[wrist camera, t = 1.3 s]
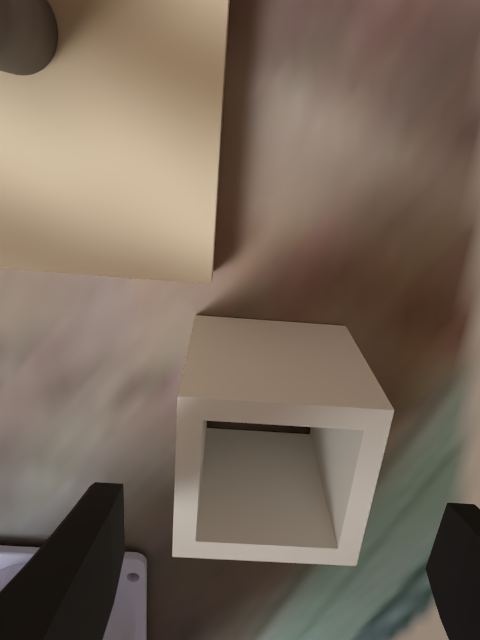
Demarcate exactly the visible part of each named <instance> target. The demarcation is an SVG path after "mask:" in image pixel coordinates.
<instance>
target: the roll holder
mask: <svg viewBox="0 0 480 640" xmlns="http://www.w3.org/2000/svg"><path fill="white" fill-rule="evenodd" d="M229 3H230V0H0V268H2V269H15V270H29V271H42V272H56V273H70V274H83V275H97V276H110V277H124V278H137V279H151V280H164V281H178V282H191V283H205V284H211V283H212V277H213V268H214V251H215V235H216V218H217V202H218V185H219V169H220V152H221V135H222V119H223V102H224V86H225V69H226V53H227V36H228V20H229Z"/></svg>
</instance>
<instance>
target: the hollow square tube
mask: <svg viewBox="0 0 480 640" xmlns="http://www.w3.org/2000/svg"><path fill="white" fill-rule="evenodd" d="M393 414H394V409H393V407H392V405H391V403H390V402H389V400H388V398H387V397H386V395H385V393H384V391H383V390H382V388H381V386H380V384H379V383H378V381H377V379H376V377H375V376H374V374H373V372H372V371H371V369H370V367H369V365H368V364H367V362H366V360H365V358H364V357H363V355H362V353H361V352H360V350H359V348H358V346H357V345H356V343H355V341H354V339H353V338H352V336H351V334H350V333H349V331H348V329H347V327H346V326H341V325H326V324H312V323H298V322H284V321H270V320H256V319H242V318H228V317H214V316H200V315H195V319H194V324H193V328H192V333H191V337H190V342H189V346H188V351H187V355H186V360H185V365H184V369H183V374H182V378H181V383H180V387H179V392H178V396H177V426H176V456H175V486H174V516H173V546H172V557H185V558H205V559H225V560H245V561H265V562H285V563H305V564H325V565H345V566H356V565H357V561H358V557H359V553H360V549H361V545H362V540H363V536H364V532H365V528H366V524H367V520H368V516H369V512H370V508H371V504H372V500H373V496H374V492H375V488H376V483H377V479H378V475H379V471H380V467H381V463H382V459H383V455H384V451H385V447H386V443H387V439H388V435H389V431H390V426H391V422H392V418H393ZM207 421H221V422H237V423H254V424H270V425H286V426H302V427H311V429H310V434H297V433H281V432H264V431H248V430H232V429H215V428H207Z"/></svg>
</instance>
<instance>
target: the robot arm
mask: <svg viewBox="0 0 480 640" xmlns="http://www.w3.org/2000/svg"><path fill="white" fill-rule="evenodd" d="M426 572H427V575H428V579H429V582H430V586H431V589H432V593H433V596H434V599H435V603H436V606H437V609H438V612H439V615H440V618H441V621H442V624H443V626H444V628H445V631H446V633H447V636H448V638H449V640H480V509H479V508H478V507H477V506H475V505H474V504H459V503H447V505H446V508H445V511H444V514H443V518H442V521H441V524H440V527H439V530H438V533H437V536H436V539H435V542H434V545H433V548H432V551H431V554H430V557H429V560H428V563H427V566H426ZM0 640H147V560H146V558H145V557H144V555H142V554H140V553H137V552H125V542H124V496H123V484H115V483H98V482H95V483H94V484H92V485H91V486H90V487H89V488H88V490H87V491H86V492H85V494H84V495H83V496H82V498H81V499H80V500H79V501H78V503H77V504H76V505H75V507H74V508H73V509H72V510H71V512H70V513H69V514H68V515H67V517H66V518H65V519H64V520H63V521H62V523H61V524H60V525H59V526H58V527H57V529H56V530H55V531H54V532H53V533H52V535H51V536H50V537H49V538H48V539H47V540H46V542H45V543H44V544H43V545H42V546H41V547H23V546H3V545H0Z"/></svg>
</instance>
